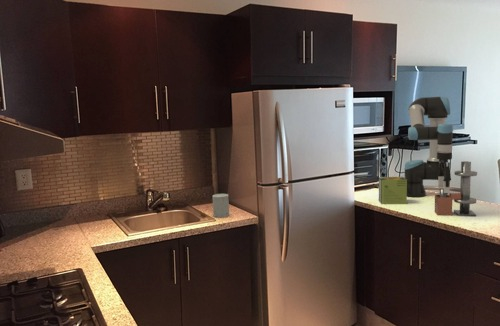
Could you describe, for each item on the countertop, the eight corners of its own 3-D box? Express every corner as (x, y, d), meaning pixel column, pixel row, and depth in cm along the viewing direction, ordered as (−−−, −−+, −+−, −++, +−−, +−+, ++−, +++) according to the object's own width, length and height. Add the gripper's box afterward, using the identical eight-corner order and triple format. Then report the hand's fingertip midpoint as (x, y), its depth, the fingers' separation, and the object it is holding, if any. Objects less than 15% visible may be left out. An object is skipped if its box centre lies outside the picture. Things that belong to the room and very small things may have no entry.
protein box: (407, 204, 262) (407, 179, 260) (381, 204, 264) (381, 179, 262) (403, 200, 272) (403, 176, 270) (378, 200, 274) (378, 176, 272)
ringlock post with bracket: (433, 211, 243) (434, 160, 239) (472, 211, 239) (474, 160, 235) (438, 216, 232) (439, 163, 229) (478, 216, 228) (480, 163, 224)
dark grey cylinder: (438, 212, 239) (438, 188, 238) (446, 212, 239) (446, 188, 237) (440, 214, 236) (440, 189, 234) (447, 214, 235) (448, 189, 233)
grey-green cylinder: (216, 218, 246) (215, 197, 244) (211, 215, 254) (210, 194, 253) (231, 216, 249) (230, 195, 248) (226, 212, 258) (225, 193, 256)
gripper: (432, 149, 245) (431, 185, 248) (442, 155, 221) (441, 195, 224) (446, 149, 244) (445, 185, 247) (458, 154, 220) (456, 195, 222)
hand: (443, 190), depth 235 cm, fingers open, 13 cm apart
